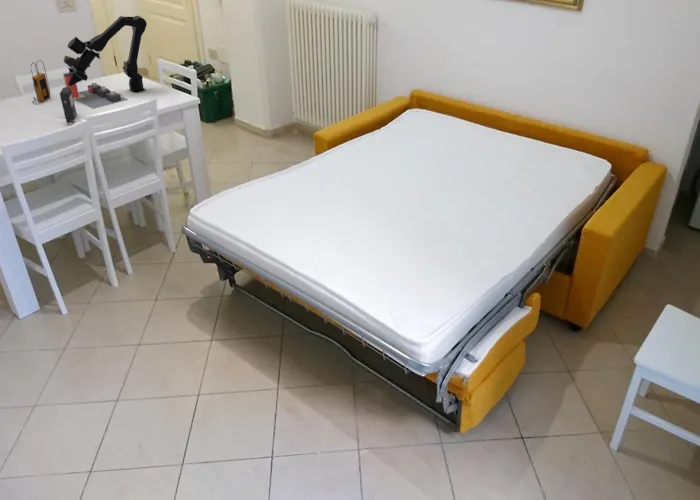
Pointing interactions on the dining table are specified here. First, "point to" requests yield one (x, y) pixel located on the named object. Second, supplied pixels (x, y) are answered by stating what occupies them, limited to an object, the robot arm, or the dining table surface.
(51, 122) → the dining table surface
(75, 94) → the block
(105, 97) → the breaker panel
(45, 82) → the multimeter
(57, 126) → the dining table surface
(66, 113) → the card reader
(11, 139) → the dining table surface
